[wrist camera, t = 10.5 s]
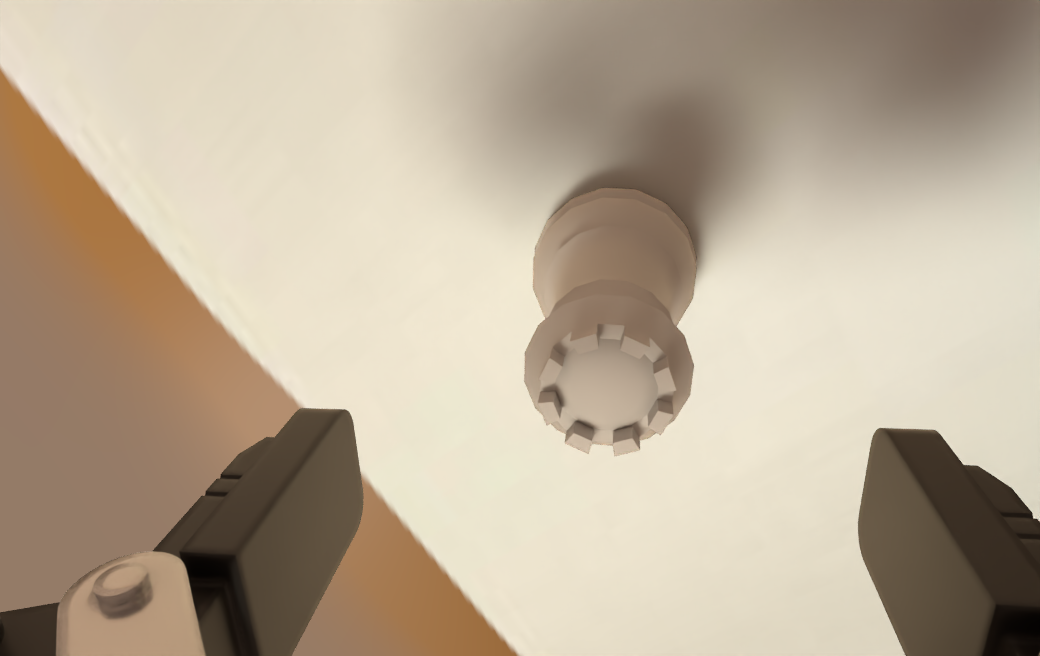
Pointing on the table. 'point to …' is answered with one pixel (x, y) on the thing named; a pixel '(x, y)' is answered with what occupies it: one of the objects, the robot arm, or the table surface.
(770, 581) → the table surface
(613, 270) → the rook chess piece
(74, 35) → the table surface
